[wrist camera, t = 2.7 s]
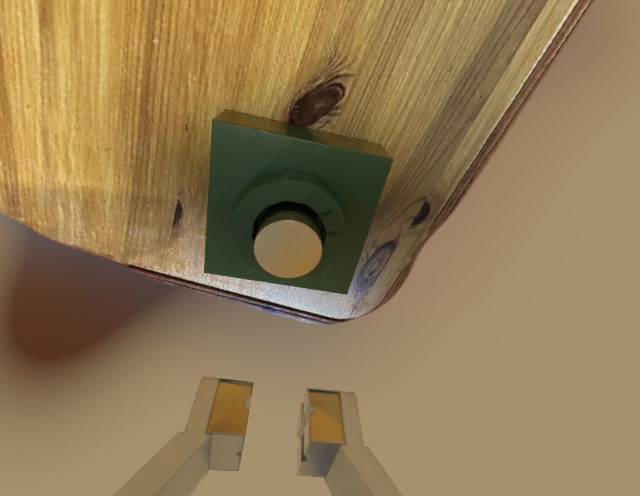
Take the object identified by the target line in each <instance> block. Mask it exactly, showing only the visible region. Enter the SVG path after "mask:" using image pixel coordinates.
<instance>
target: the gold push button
mask: <svg viewBox="0 0 640 496" xmlns="http://www.w3.org/2000/svg"><path fill="white" fill-rule="evenodd" d="M254 254H255V257H256V260H257V261H258V263H259V264H260V266H261V267H262V268H263V269H264V270H266V271H267V272H269V273H270V274H273V275H275V276H278V277H283V278H295V277H300V276H302V275H305V274H307V273H308V272H310V271H311V270H313V269H314V268H315V267H316V265H317V264H318V263H319V261H320V258H321V255H322V241H321V230H320V225H319V222H318V220H317V218H316V217H315V216H314V214H313V213H311V212H310V211H309V210H308V209H306V208H304V207H302V206H299V205H295V204H282V205H278V206H276V207H273V208H272V209H270V210H269V211H267V212H266V213H265V214H264V216H263V217H262V218H261V220H260V223H259V226H258V230H257V234H256V238H255V242H254Z"/></svg>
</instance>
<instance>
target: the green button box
mask: <svg viewBox="0 0 640 496" xmlns="http://www.w3.org/2000/svg"><path fill="white" fill-rule="evenodd" d="M392 162H393V159H392V157H391V156H390V155H389V153H388V152H387V151H386V150H385V148H384V147H383V146H382V145H380V144H376V143H371V142H367V141H363V140H358V139H354V138H349V137H345V136H340V135H336V134H332V133H327V132H323V131H318V130H314V129H310V128H305V127H301V126H296V125H292V124H287V123H283V122H279V121H274V120H270V119H265V118H261V117H257V116H252V115H248V114H243V113H239V112H234V111H230V110H224V111H223V112H221V113H220V114H219V115H218V116H216V117H215V118H214V119H213V120H212V134H211V153H210V171H209V189H208V208H207V226H206V245H205V263H204V273H209V274H216V275H222V276H229V277H235V278H242V279H249V280H255V281H262V282H268V283H275V284H281V285H288V286H295V287H301V288H308V289H314V290H321V291H327V292H334V293H341V294H347V293H348V290H349V287H350V284H351V281H352V278H353V276H354V273H355V270H356V267H357V264H358V261H359V258H360V255H361V252H362V249H363V246H364V243H365V241H366V238H367V235H368V232H369V229H370V226H371V223H372V220H373V217H374V214H375V211H376V208H377V206H378V203H379V200H380V197H381V194H382V191H383V188H384V185H385V182H386V179H387V176H388V173H389V171H390V168H391V165H392ZM282 204H295V205H299V206H302V207H304V208H306V209H308V210H309V211H310V212H311V213H313V214H314V216H315V217H316V218H317V220H318V222H319V225H320V230H321V241H322V255H321V258H320V261H319V263H318V264H317V265H316V267H315V268H314V269H313V270H311V271H310V272H308V273H307V274H305V275H302V276H300V277H295V278H283V277H278V276H275V275H273V274H270V273H269V272H267V271H266V270H264V269H263V268H262V267H261V266H260V264H259V263H258V261H257V260H256V257H255V254H254V242H255V238H256V234H257V230H258V226H259V223H260V220H261V218H262V217H263V216H264V214H265V213H266V212H267V211H269V210H270V209H272V208H273V207H276V206H278V205H282Z"/></svg>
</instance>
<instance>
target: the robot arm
mask: <svg viewBox="0 0 640 496" xmlns="http://www.w3.org/2000/svg"><path fill="white" fill-rule="evenodd" d="M252 389H253V382H246V381H237V380H228V379H221V378H214V377H202V379H201V381H200V384H199V387H198V391H197V393H196V397H195V400H194V403H193V406H192V410H191V412H190V416H189V419H188V422H187V425H186V429H185V432H178V433H177V434H176V435H175V436H174V437H173V438H172V439H171V440H170V441H169V442H168V443H167V444H166V445H165V446H164V447H163V448H162V449H161V450H160V451H159V452H158V453H157V454H156V455H155V456H154V457H153V458H152V459H151V460H150V461H148V462H147V463H146V464H145V465H144V466H143V467H142V468H141V469H140V470H139V471H138V472H137V473H136V474H135V475H134V476H133V477H132V478H131V479H130V480H129V481H128V482H127V483H126V484H125V485H124V486H123V487H122V488H121V489H120V490H119V491H118V492H117V493H116V494H115V495H114V496H190V495H191V493H192V492H193V491H194V490H195V488H196V487H197V486H198V484H199V483H200V482H201V480H202V479H203V478H204V476H205V475H206V474H207V472H208V470H225V471H238V470H239V466H240V461H241V456H242V450H243V445H244V440H245V434H246V428H247V421H248V414H249V407H250V402H251V395H252ZM297 436H298V437H299V439H300V443H299V447H298V450H297V475H303V476H314V477H324V478H325V481H326V483H327V485H328V488H329V490H330V492H331V494H332V496H403V495H402V494H401V492H400V491H399V490H398V488H397V487H396V485H395V484H394V483H393V481H392V480H391V478H390V477H389V475H388V474H387V473H386V471H385V470H384V469H383V467H382V466H381V464H380V463H379V461H378V460H377V459H376V457H375V456H374V454H373V453H372V452H371V450H370V449H369V447H364V445H363V439H362V432H361V425H360V419H359V412H358V406H357V399H356V395H355V393H353V392H344V391H338V390H327V389H316V388H307V389H306V391H305V394H304V402H303V403H302V404H301V407H300V410H299V416H298V430H297Z"/></svg>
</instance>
